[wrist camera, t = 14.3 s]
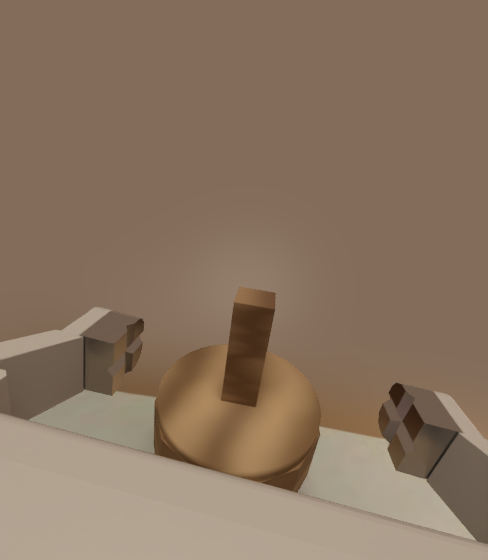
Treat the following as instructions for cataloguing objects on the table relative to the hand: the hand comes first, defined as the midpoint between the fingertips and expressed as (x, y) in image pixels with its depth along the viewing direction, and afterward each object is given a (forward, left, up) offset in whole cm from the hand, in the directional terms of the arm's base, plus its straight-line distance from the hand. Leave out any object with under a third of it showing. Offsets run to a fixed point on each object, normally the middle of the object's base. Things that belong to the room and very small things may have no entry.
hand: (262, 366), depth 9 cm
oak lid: (0, +14, -21) cm, 25 cm away
